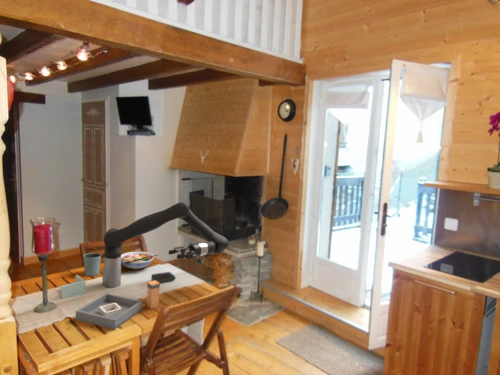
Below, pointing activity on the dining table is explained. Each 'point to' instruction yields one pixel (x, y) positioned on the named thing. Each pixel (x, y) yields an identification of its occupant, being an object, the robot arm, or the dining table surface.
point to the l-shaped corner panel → (73, 288)
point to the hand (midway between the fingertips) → (173, 254)
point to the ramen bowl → (136, 259)
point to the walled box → (109, 311)
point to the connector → (153, 294)
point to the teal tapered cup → (92, 264)
